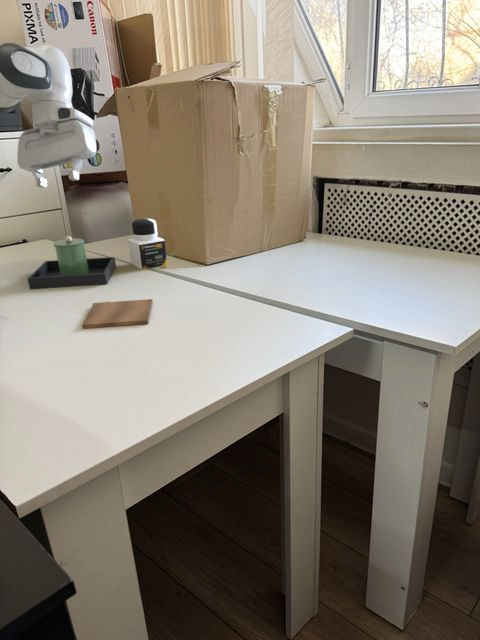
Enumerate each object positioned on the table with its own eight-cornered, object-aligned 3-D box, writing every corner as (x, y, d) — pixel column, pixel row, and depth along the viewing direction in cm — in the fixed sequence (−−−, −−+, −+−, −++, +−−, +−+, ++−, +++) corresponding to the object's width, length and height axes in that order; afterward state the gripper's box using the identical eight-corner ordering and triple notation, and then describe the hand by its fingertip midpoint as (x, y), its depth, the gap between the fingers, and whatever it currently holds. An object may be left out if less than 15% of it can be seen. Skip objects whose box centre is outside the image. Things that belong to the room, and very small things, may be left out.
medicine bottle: (142, 271, 128) (136, 223, 123) (131, 266, 133) (124, 219, 128) (168, 266, 131) (162, 219, 126) (156, 261, 137) (150, 215, 132)
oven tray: (30, 291, 116) (27, 278, 114) (47, 272, 129) (45, 261, 128) (107, 286, 117) (105, 273, 116) (116, 268, 131) (114, 256, 130)
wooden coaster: (82, 328, 94) (82, 324, 94) (94, 306, 105) (93, 303, 105) (148, 323, 96) (147, 320, 95) (152, 302, 106) (152, 299, 106)
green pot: (57, 282, 120) (48, 240, 115) (64, 273, 126) (56, 233, 122) (87, 280, 120) (80, 238, 116) (93, 272, 127) (85, 232, 122)
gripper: (8, 126, 116) (12, 187, 117) (79, 107, 109) (83, 171, 109) (30, 136, 122) (33, 194, 122) (99, 118, 115) (102, 179, 115)
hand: (57, 183), depth 116 cm, fingers open, 8 cm apart
